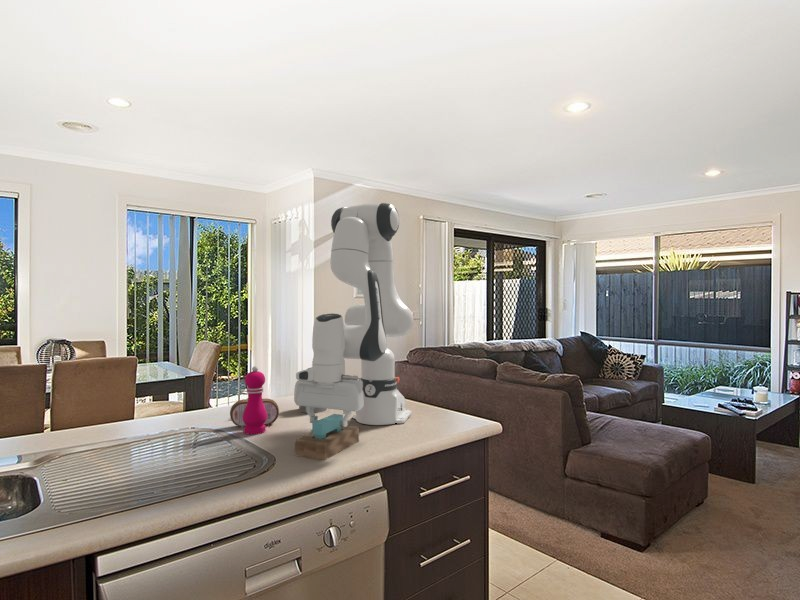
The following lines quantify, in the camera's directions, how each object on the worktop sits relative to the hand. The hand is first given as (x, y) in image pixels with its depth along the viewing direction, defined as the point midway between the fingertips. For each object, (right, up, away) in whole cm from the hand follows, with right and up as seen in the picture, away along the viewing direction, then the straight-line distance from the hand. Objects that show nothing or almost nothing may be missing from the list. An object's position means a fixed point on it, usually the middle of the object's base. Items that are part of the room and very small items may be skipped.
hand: (328, 424), depth 136 cm
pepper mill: (-25, -6, +16) cm, 30 cm away
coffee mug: (-13, -6, +45) cm, 47 cm away
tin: (-27, -7, +24) cm, 36 cm away
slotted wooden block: (0, -6, 0) cm, 6 cm away
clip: (0, -6, 0) cm, 6 cm away
